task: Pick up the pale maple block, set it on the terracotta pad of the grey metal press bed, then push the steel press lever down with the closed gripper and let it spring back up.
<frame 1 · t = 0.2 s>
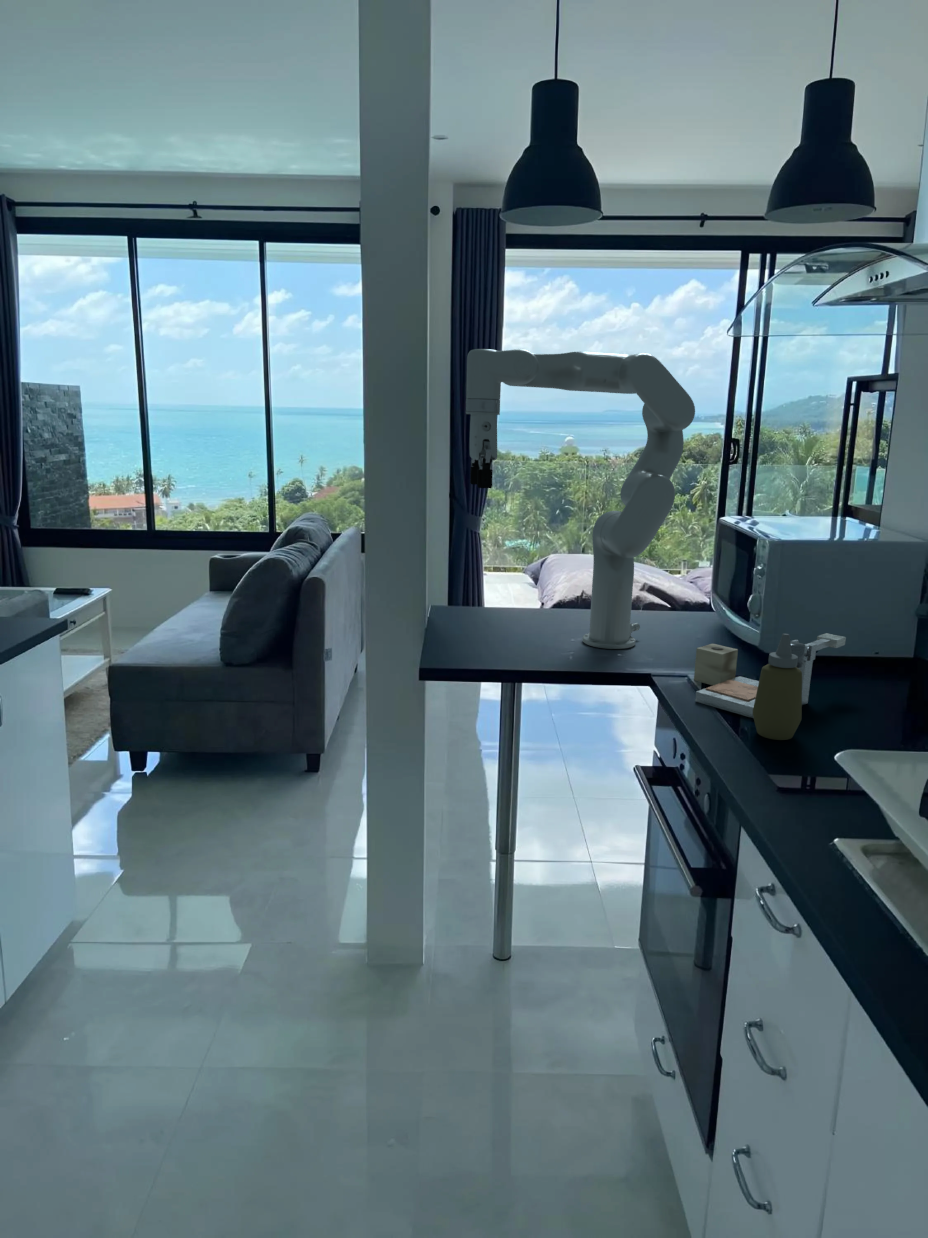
hand: (480, 486, 195), 37 cm above the table, tool pointing down, fingers open, 9 cm apart
press lever: (811, 647, 168), point 11 cm above the table, hinge at 0.0°
maple block: (714, 681, 181), on the table
squeeze bottle: (774, 736, 150), on the table
press: (749, 702, 167), on the table
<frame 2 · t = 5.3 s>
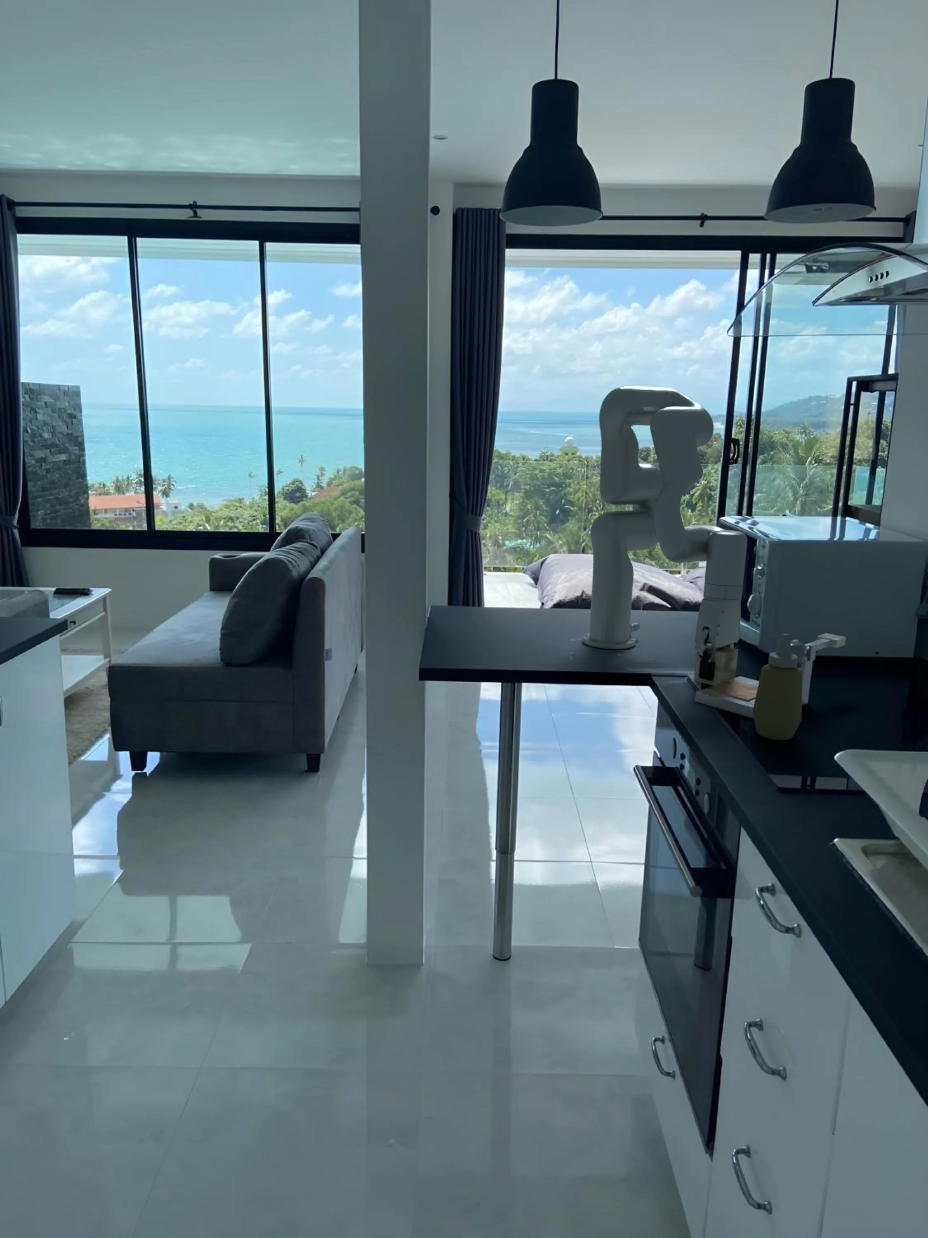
hand: (714, 675, 180), 1 cm above the table, tool pointing down, fingers closed on maple block, 6 cm apart
maple block: (714, 681, 181), on the table, touching gripper
everything else where it was.
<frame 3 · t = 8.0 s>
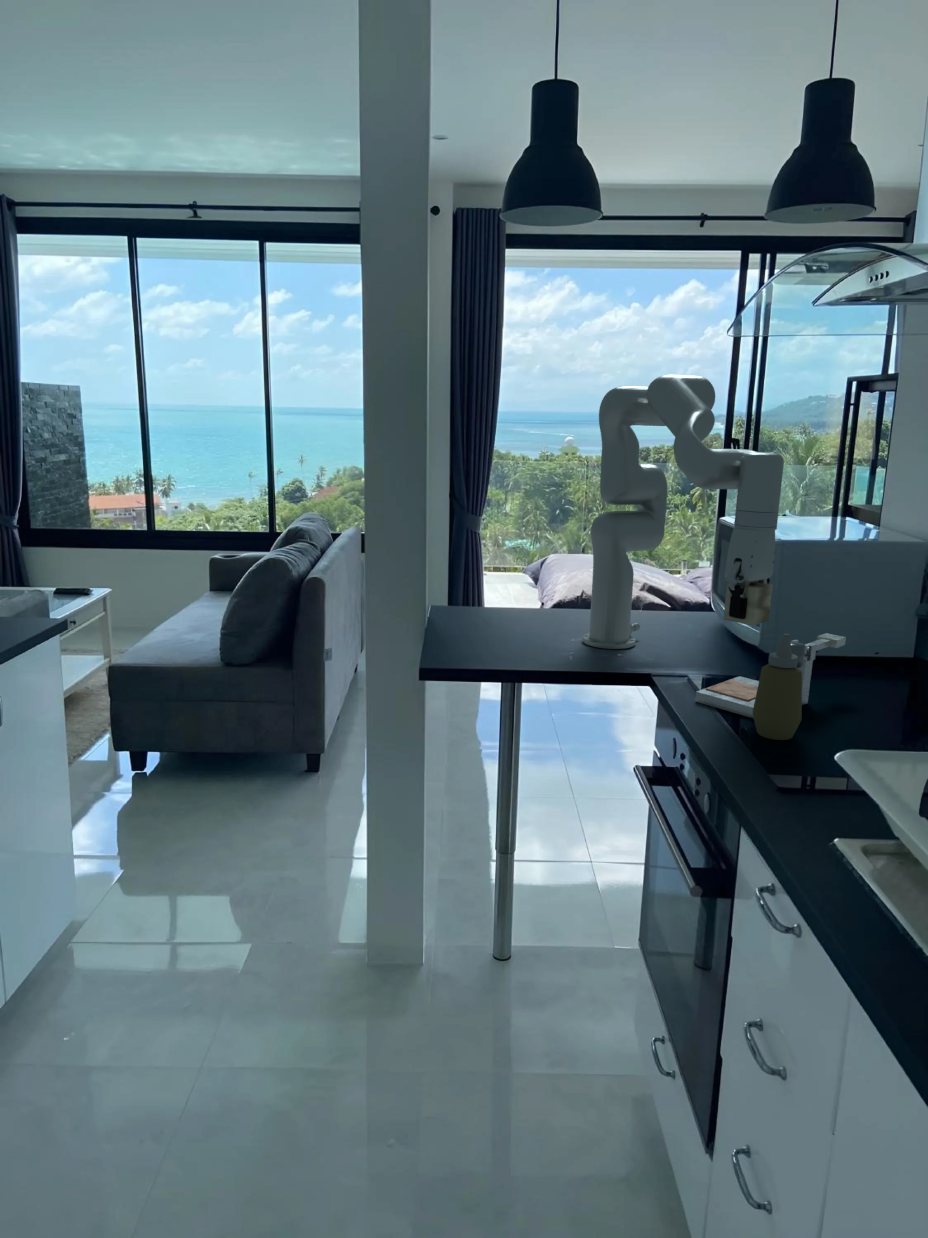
hand: (746, 614, 164), 17 cm above the table, tool pointing down, fingers closed on maple block, 6 cm apart
maple block: (746, 620, 164), point 16 cm above the table, touching gripper
everything else where it was.
when the fingers open (5 cm above the table, at t = 10.6 s): maple block drops 1 cm, resting on press.
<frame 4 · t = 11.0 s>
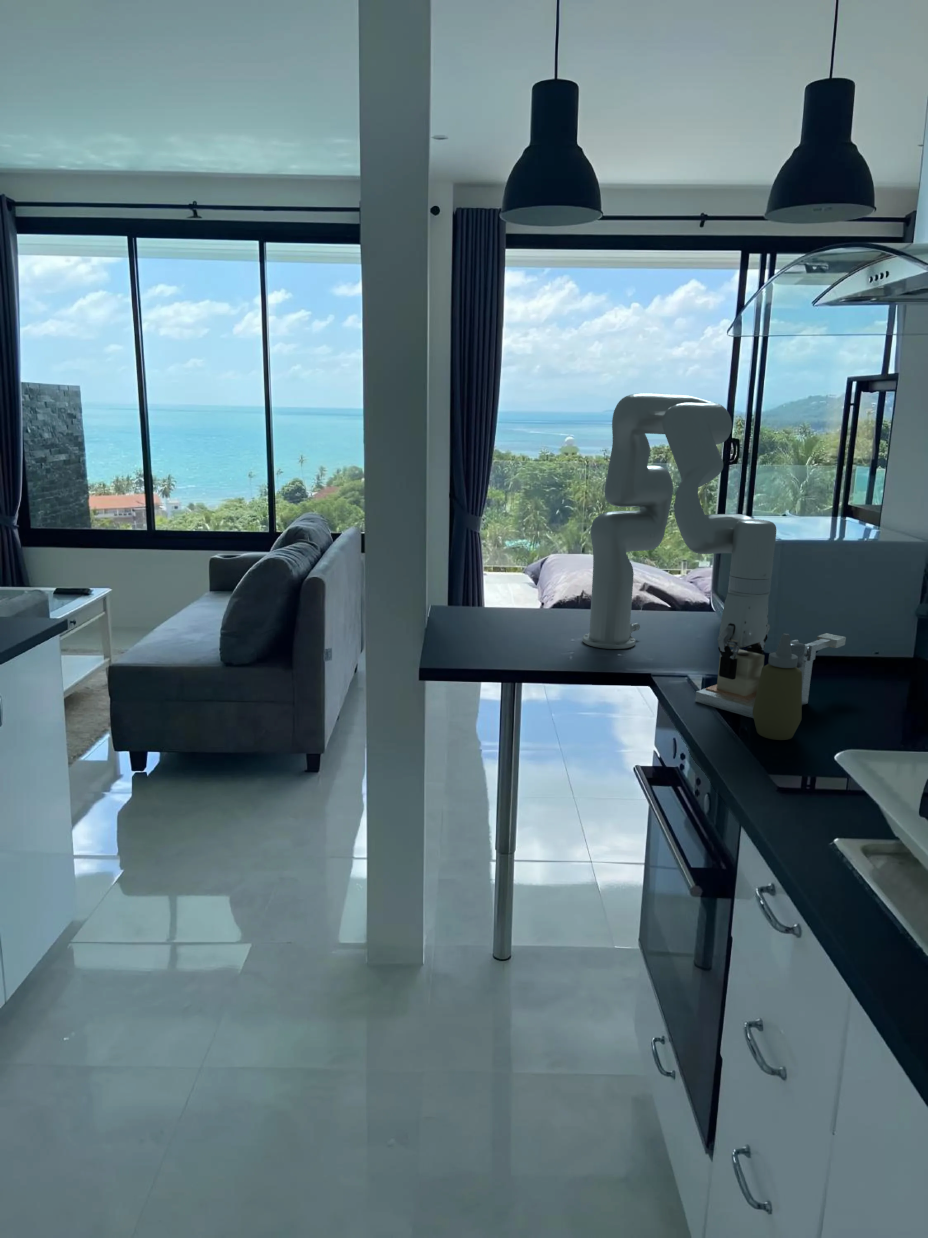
hand: (740, 673, 167), 6 cm above the table, tool pointing down, fingers open, 9 cm apart
maple block: (738, 689, 168), point 2 cm above the table, touching press
everything else where it was.
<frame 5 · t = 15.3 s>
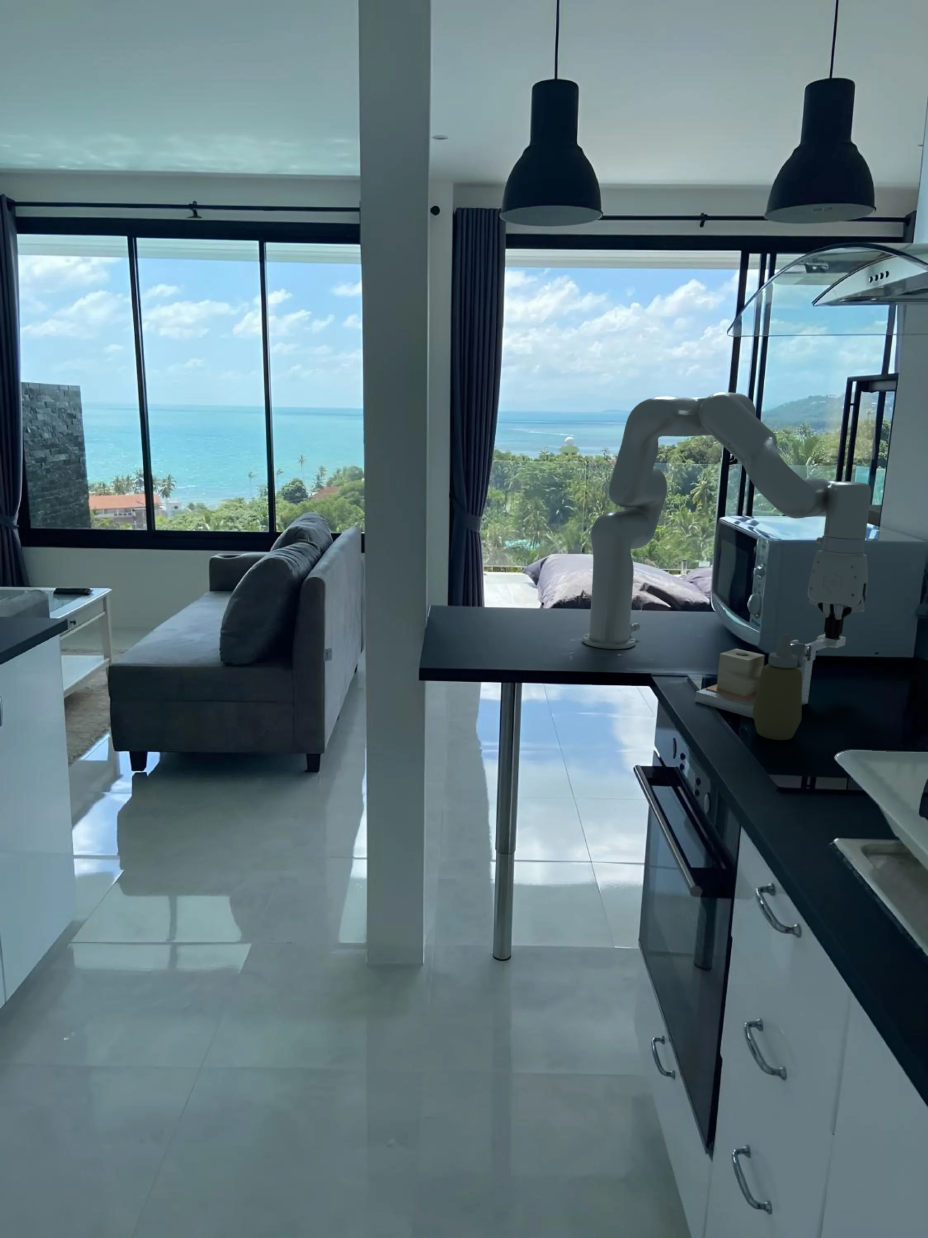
hand: (832, 636, 173), 11 cm above the table, tool pointing down, fingers closed
press lever: (811, 647, 168), point 10 cm above the table, hinge at -0.2°, touching gripper
everything else where it was.
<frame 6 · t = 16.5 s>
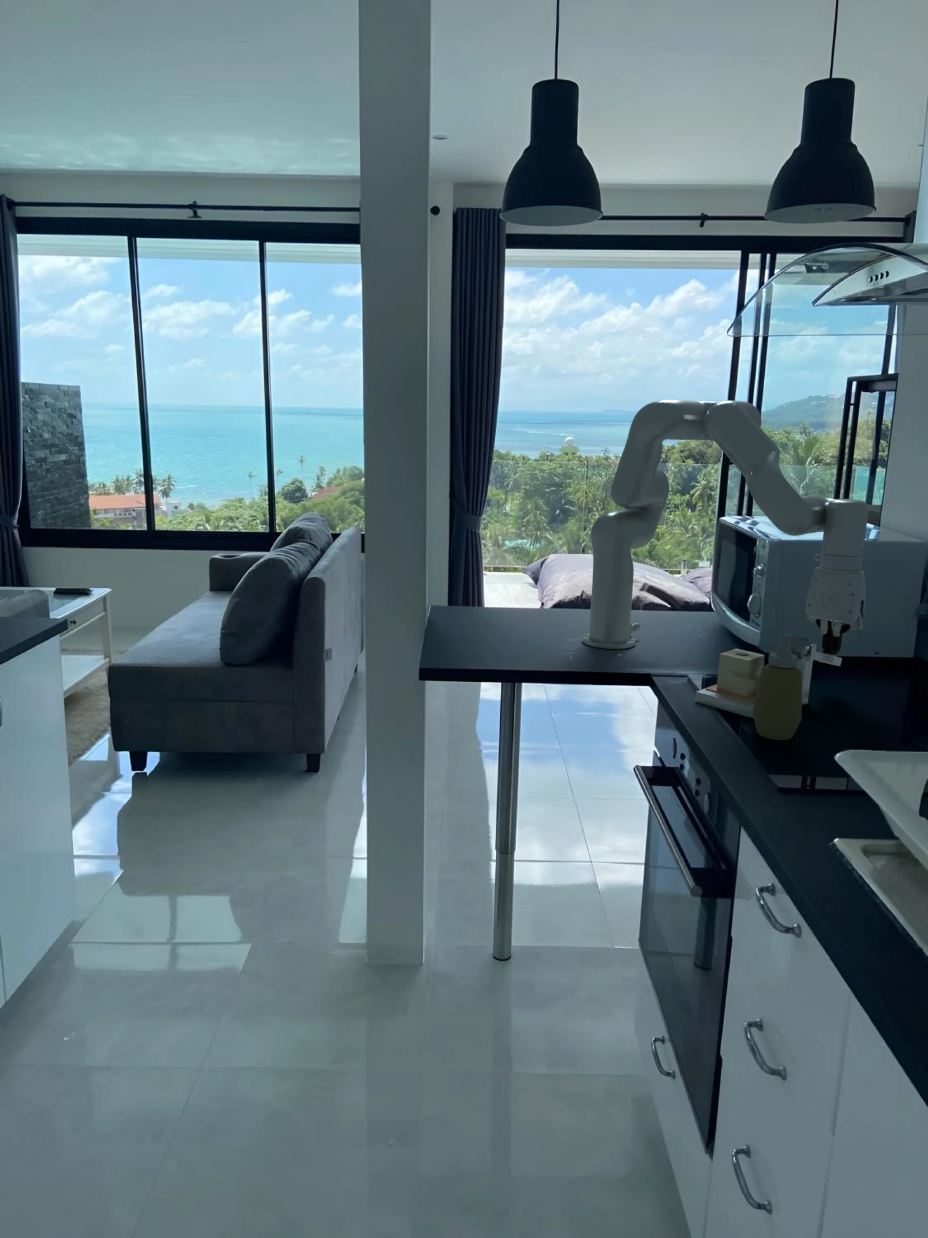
hand: (830, 653, 174), 8 cm above the table, tool pointing down, fingers closed
press lever: (810, 653, 168), point 9 cm above the table, hinge at -18.0°, touching gripper
everything else where it was.
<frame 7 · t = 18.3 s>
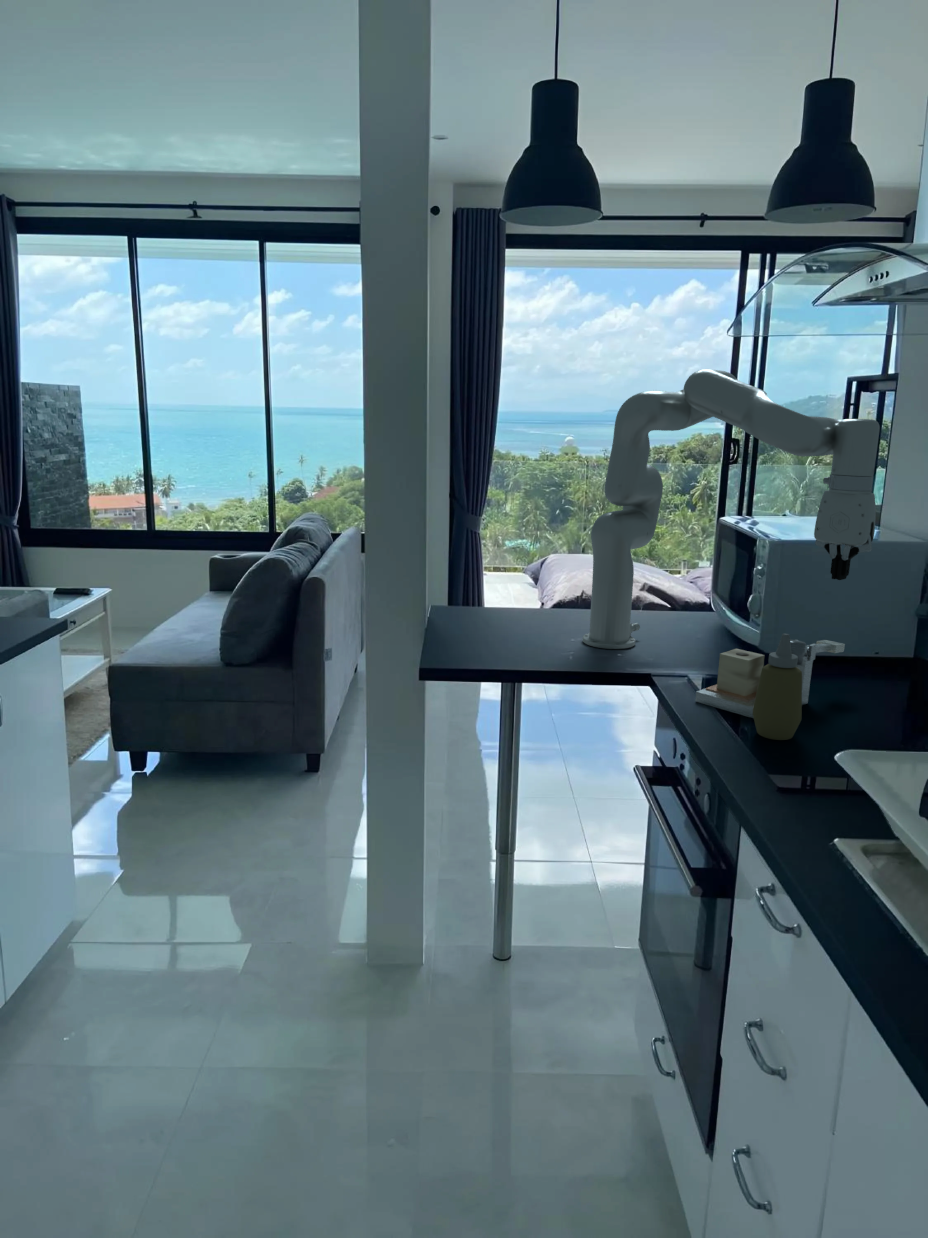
hand: (838, 578, 171), 23 cm above the table, tool pointing down, fingers closed
press lever: (811, 649, 168), point 10 cm above the table, hinge at -5.8°
everything else where it was.
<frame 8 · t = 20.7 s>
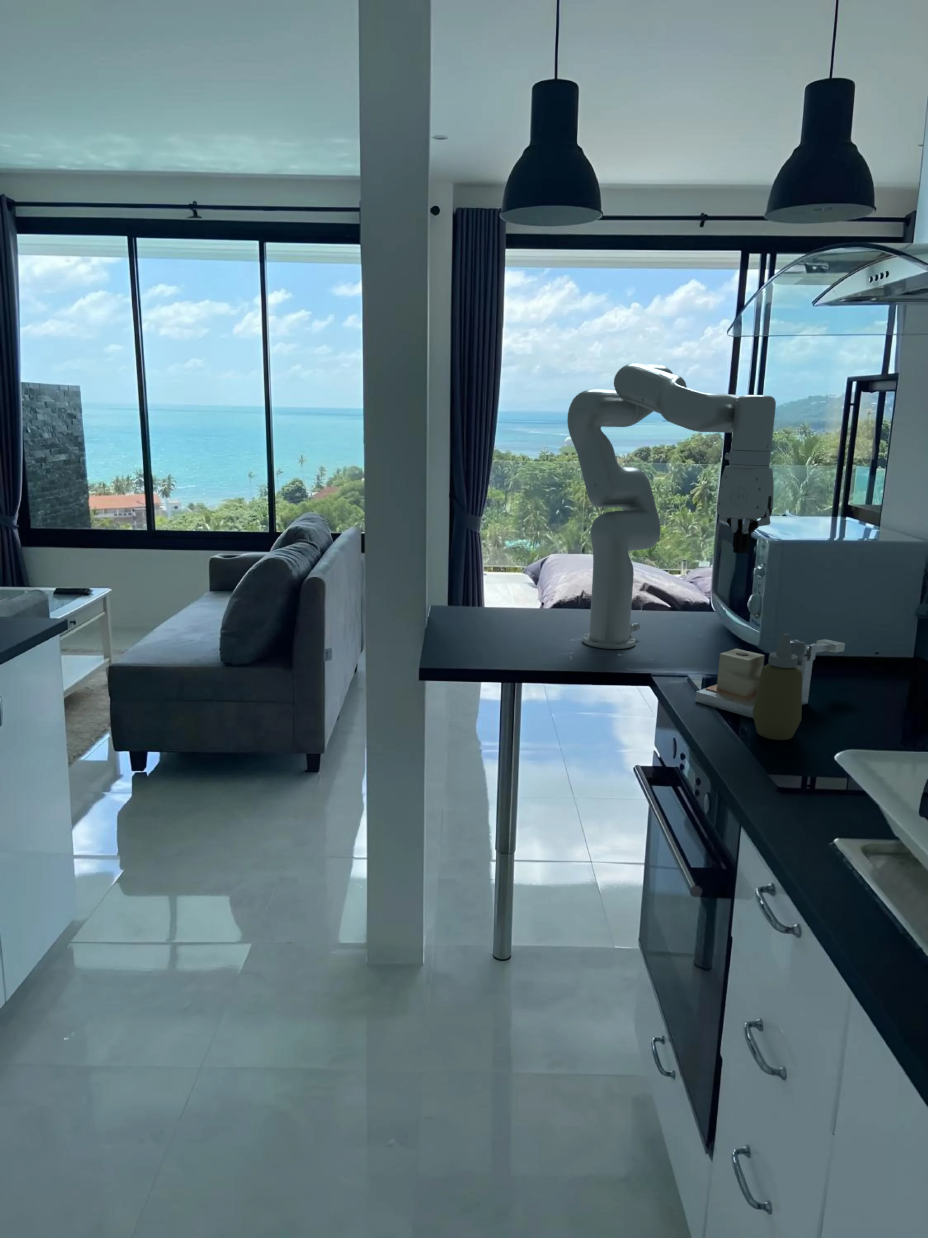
hand: (740, 552, 174), 27 cm above the table, tool pointing down, fingers closed
press lever: (811, 648, 168), point 10 cm above the table, hinge at -5.2°
everything else where it was.
at the end: maple block 0.0 cm from the target spot on the press, point 2.3 cm above the press's base; maple block tilted 0°; press lever at -5° (first picture: +0°) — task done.
